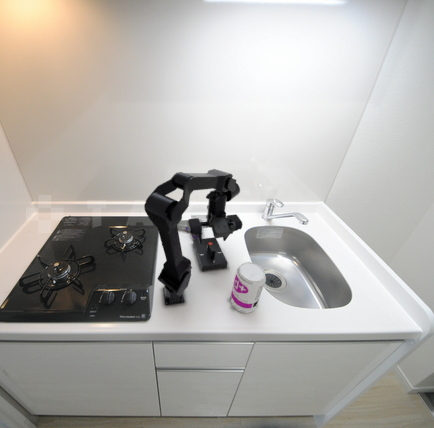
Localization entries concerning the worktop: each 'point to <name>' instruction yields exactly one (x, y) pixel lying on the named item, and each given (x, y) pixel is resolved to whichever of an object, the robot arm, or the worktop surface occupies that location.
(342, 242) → the worktop surface
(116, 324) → the worktop surface
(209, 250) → the stove knob
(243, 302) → the supplement can
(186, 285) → the robot arm
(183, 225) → the infrared thermometer
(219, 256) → the stove panel
